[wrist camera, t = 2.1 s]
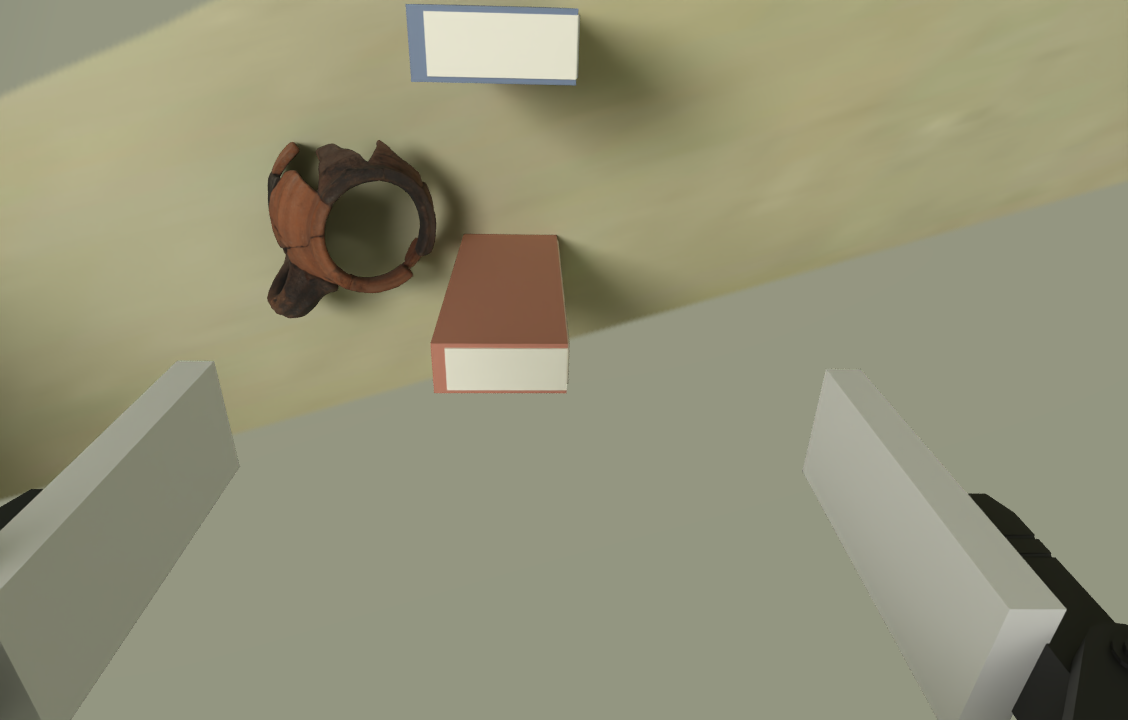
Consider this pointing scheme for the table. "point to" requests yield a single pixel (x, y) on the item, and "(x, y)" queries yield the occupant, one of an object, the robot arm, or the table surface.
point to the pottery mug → (306, 213)
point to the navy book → (493, 44)
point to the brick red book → (503, 318)
